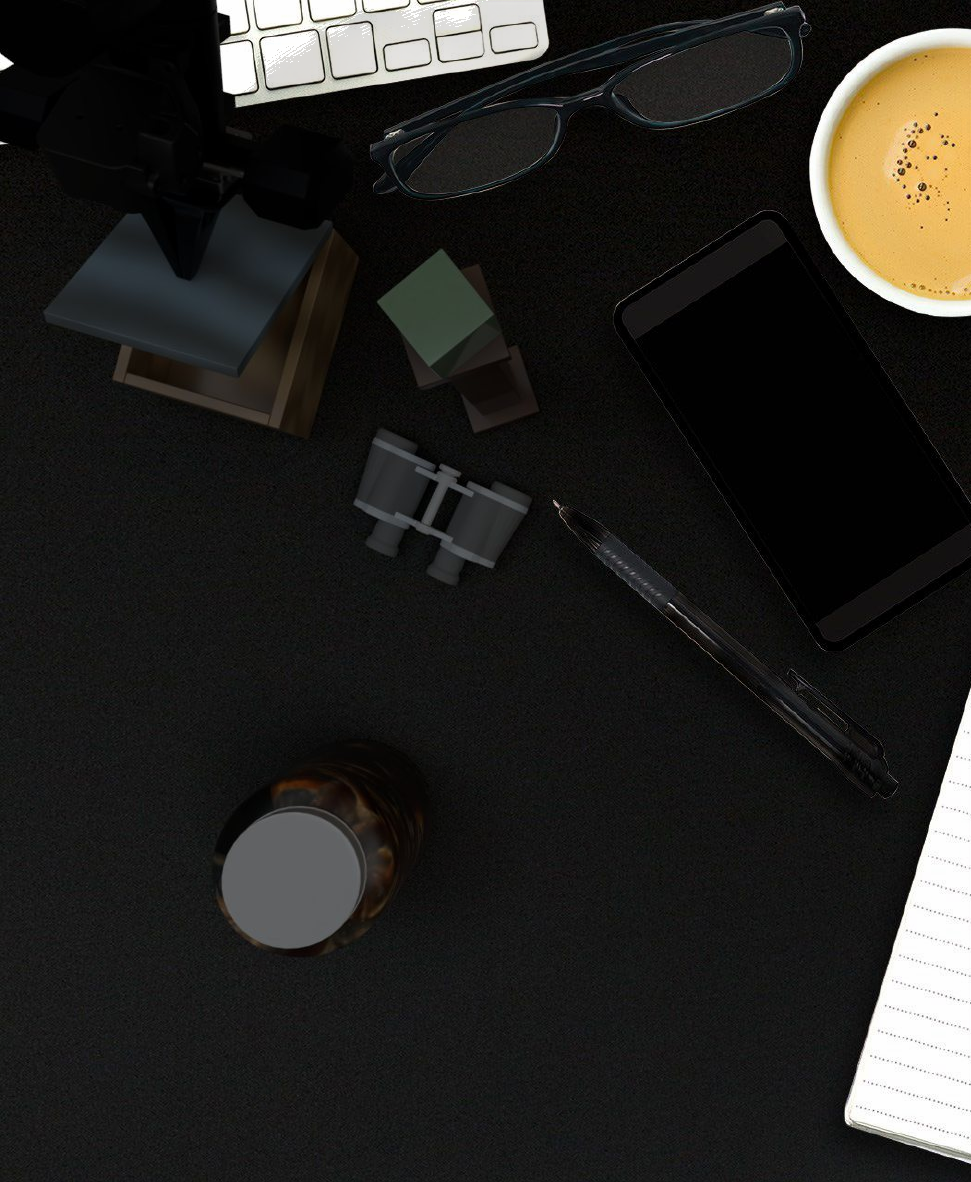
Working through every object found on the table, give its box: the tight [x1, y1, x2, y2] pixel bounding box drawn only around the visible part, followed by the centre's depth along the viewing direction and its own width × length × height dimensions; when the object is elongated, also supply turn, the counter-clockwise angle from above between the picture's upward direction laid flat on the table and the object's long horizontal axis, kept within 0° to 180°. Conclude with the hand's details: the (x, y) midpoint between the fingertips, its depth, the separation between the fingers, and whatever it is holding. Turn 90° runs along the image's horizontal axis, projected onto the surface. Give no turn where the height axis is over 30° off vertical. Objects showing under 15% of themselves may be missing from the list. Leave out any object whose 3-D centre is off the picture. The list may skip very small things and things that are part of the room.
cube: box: [376, 248, 504, 380], centre depth 52 cm, size 4×4×4 cm
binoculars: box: [353, 427, 533, 587], centre depth 75 cm, size 12×8×4 cm, turn 65°
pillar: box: [398, 263, 542, 436], centre depth 65 cm, size 5×5×22 cm
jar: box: [211, 739, 434, 958], centre depth 70 cm, size 12×12×15 cm
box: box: [111, 228, 360, 440], centre depth 73 cm, size 14×12×7 cm
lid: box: [42, 193, 334, 378], centre depth 65 cm, size 14×12×1 cm
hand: (187, 276), depth 64 cm, fingers closed, pressing on lid
